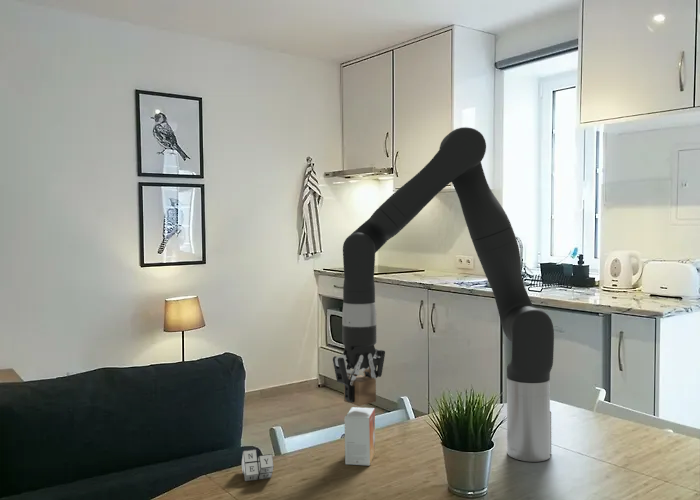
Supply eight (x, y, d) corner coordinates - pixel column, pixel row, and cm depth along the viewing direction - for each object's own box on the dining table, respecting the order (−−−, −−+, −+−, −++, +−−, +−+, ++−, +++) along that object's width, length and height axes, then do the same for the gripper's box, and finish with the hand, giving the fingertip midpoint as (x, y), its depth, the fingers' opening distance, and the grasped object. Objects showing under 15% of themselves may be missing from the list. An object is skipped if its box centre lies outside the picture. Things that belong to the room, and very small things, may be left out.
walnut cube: (360, 397, 138) (360, 375, 138) (375, 401, 134) (375, 378, 134) (344, 401, 135) (343, 378, 135) (359, 405, 131) (358, 382, 131)
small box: (370, 466, 130) (369, 417, 130) (344, 465, 131) (343, 416, 131) (375, 453, 138) (375, 407, 138) (351, 452, 139) (351, 406, 139)
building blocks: (243, 486, 125) (246, 469, 120) (241, 462, 129) (244, 444, 123) (269, 483, 127) (273, 466, 121) (266, 459, 130) (270, 441, 125)
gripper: (346, 328, 126) (346, 409, 127) (394, 321, 136) (394, 396, 136) (323, 324, 132) (324, 402, 133) (371, 318, 142) (371, 390, 142)
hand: (359, 399), depth 134 cm, fingers closed on walnut cube, 5 cm apart
